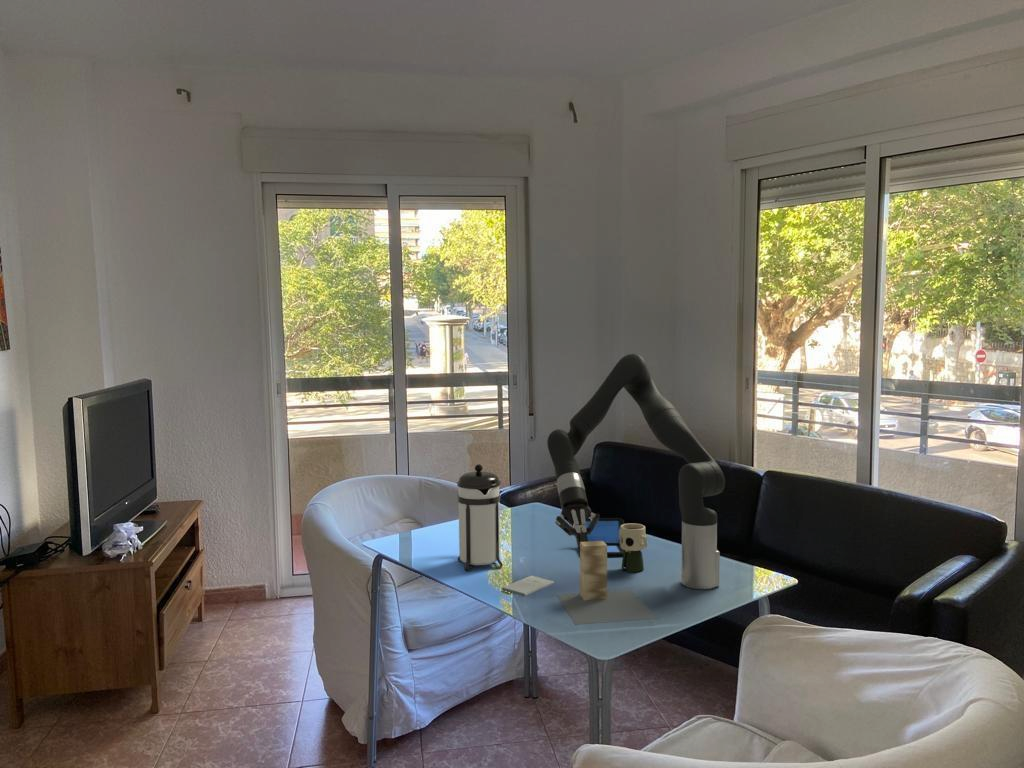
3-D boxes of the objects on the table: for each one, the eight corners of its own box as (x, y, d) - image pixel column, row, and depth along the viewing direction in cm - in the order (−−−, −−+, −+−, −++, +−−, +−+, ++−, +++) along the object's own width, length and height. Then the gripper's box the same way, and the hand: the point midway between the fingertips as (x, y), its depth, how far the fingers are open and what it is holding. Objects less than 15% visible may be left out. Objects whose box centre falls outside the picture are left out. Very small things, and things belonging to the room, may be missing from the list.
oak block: (602, 593, 193) (602, 540, 192) (607, 598, 189) (607, 545, 188) (579, 594, 192) (579, 541, 191) (584, 600, 188) (584, 546, 187)
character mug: (610, 568, 215) (610, 524, 214) (628, 563, 219) (628, 520, 218) (637, 578, 206) (637, 532, 205) (655, 573, 210) (655, 528, 209)
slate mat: (630, 591, 196) (630, 589, 196) (657, 620, 176) (657, 618, 176) (556, 596, 193) (556, 594, 193) (575, 626, 173) (575, 624, 173)
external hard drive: (501, 592, 197) (530, 580, 207) (525, 599, 192) (554, 586, 202) (501, 586, 197) (530, 574, 207) (525, 593, 192) (554, 580, 201)
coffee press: (516, 561, 222) (515, 462, 220) (485, 576, 209) (484, 471, 207) (470, 552, 232) (469, 457, 230) (437, 565, 219) (436, 465, 216)
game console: (581, 558, 225) (581, 529, 224) (575, 545, 239) (575, 518, 238) (632, 557, 226) (632, 528, 225) (623, 544, 239) (623, 517, 239)
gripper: (592, 498, 215) (604, 552, 204) (547, 500, 213) (557, 555, 202) (596, 484, 209) (610, 538, 198) (551, 486, 207) (561, 542, 196)
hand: (583, 547), depth 200 cm, fingers closed
